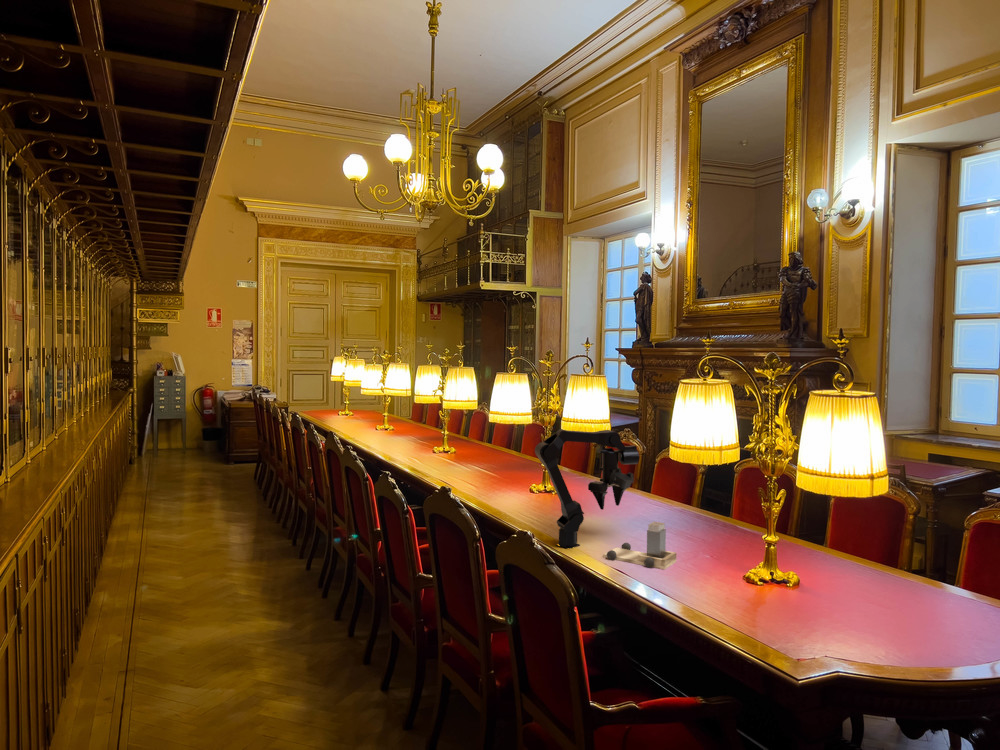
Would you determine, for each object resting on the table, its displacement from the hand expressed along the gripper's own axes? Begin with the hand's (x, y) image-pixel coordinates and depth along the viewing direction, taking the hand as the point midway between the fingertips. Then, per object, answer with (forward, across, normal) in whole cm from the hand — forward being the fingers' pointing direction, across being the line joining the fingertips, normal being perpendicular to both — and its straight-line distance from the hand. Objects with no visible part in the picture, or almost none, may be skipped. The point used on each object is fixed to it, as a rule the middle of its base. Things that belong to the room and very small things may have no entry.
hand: (609, 507), depth 248 cm
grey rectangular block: (+12, -8, -25) cm, 29 cm away
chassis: (+13, -9, -19) cm, 25 cm away
